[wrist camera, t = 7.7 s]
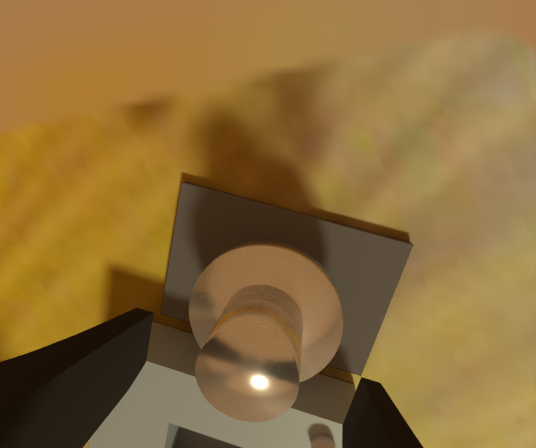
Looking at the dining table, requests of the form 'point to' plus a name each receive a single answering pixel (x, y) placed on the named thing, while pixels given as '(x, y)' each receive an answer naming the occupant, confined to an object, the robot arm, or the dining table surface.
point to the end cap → (262, 327)
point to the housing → (208, 417)
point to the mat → (300, 236)
